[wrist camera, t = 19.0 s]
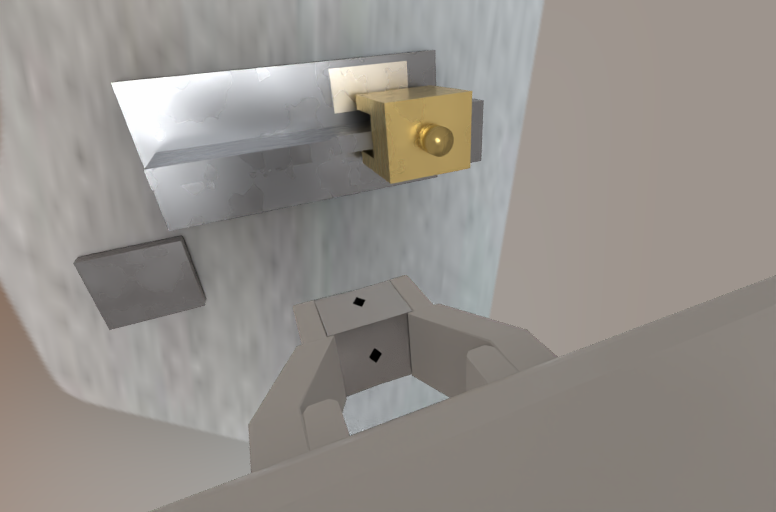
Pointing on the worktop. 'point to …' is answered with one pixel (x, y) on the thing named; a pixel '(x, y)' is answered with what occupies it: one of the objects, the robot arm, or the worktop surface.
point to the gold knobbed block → (417, 131)
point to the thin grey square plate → (141, 281)
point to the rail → (265, 133)
